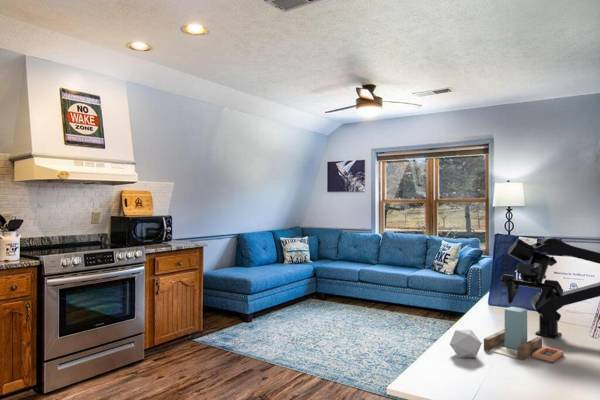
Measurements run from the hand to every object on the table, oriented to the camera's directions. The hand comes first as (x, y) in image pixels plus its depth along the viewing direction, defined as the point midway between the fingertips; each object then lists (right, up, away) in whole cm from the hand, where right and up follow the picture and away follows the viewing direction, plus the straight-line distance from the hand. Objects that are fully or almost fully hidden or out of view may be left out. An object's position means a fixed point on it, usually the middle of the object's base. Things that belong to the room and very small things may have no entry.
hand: (522, 305), depth 143 cm
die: (-24, -13, -11) cm, 29 cm away
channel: (-6, -13, -6) cm, 15 cm away
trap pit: (+1, -13, -13) cm, 18 cm away
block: (-5, -13, -5) cm, 14 cm away
